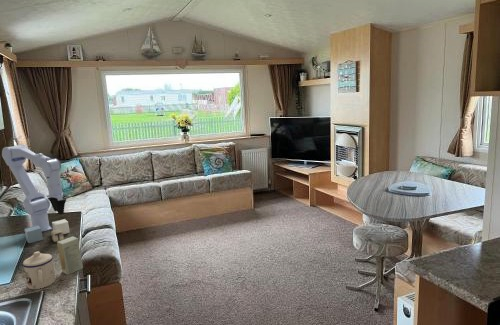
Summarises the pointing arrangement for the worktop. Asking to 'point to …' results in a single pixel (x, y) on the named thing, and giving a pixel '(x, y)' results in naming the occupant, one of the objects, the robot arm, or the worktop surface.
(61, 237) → the letter cube
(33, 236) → the cover
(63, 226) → the cover
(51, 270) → the teacup with lid
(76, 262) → the skincare box
